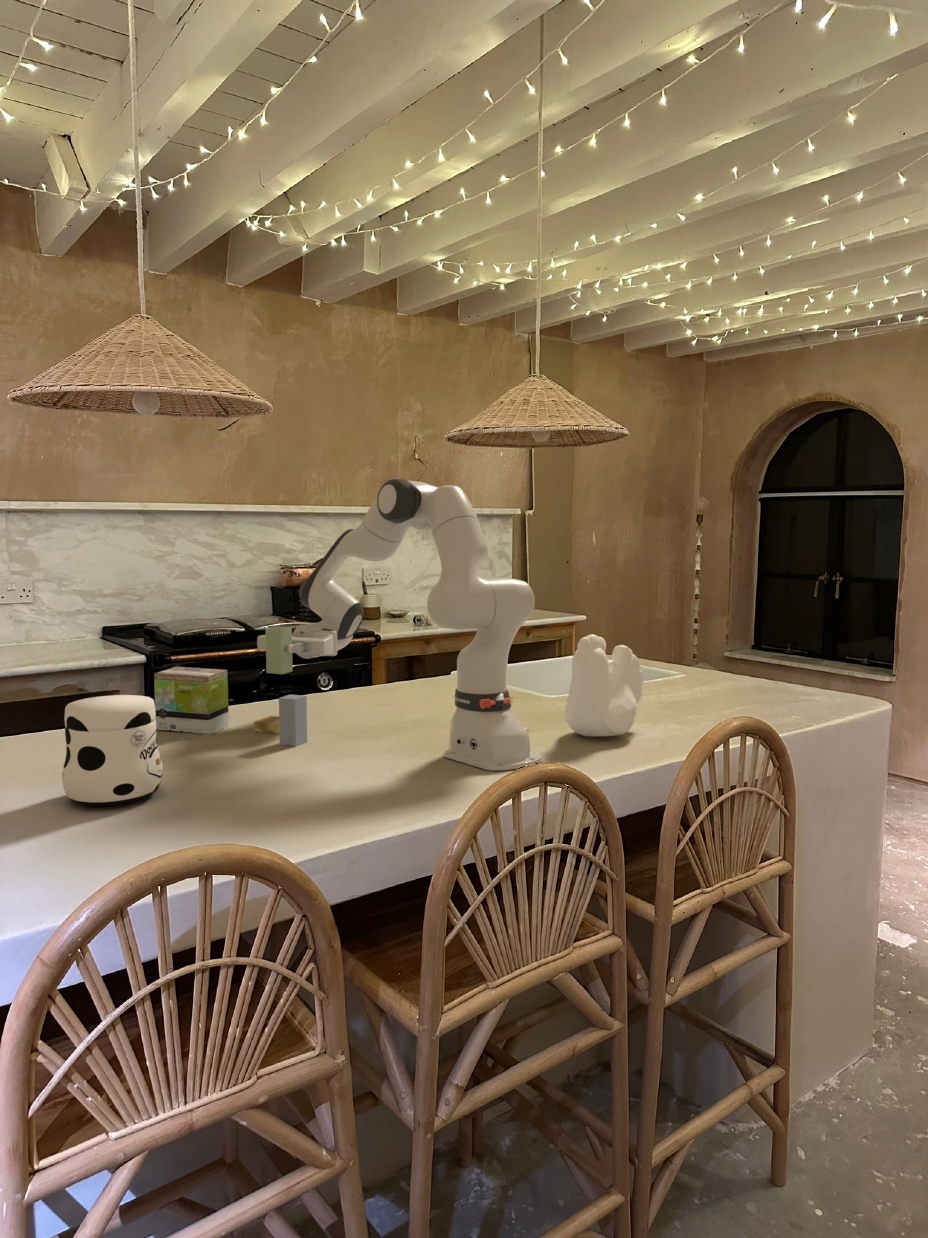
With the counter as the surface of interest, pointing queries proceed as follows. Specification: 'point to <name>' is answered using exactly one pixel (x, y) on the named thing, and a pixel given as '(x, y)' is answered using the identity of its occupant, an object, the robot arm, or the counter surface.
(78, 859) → the counter surface
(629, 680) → the decorative rooster
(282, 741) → the slate block
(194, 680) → the tea box
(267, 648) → the green block
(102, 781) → the spotted treat jar
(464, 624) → the robot arm
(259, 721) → the ochre slab
